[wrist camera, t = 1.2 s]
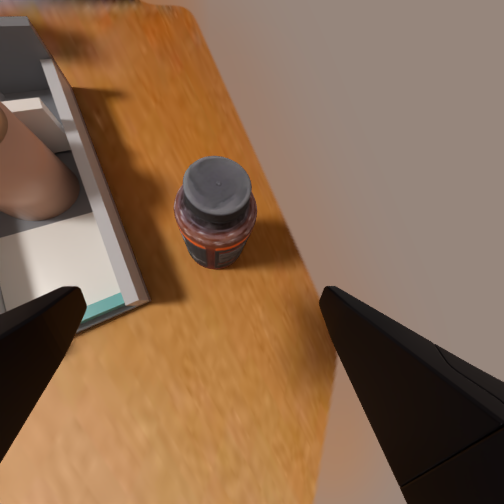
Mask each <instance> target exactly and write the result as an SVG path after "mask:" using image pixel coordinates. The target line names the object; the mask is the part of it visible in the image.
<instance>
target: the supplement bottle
mask: <svg viewBox="0 0 504 504" xmlns="http://www.w3.org/2000/svg"><path fill="white" fill-rule="evenodd" d="M251 188H252V187H251V181H250V178H249V176H248V174H247V173H246V171H245V170H244V169H243V168H242V167H241V166H240V165H239V164H238V163H236V162H234V161H233V160H230V159H228V158H224V157H220V156H208V157H204V158H201V159H199V160H197V161H196V162H194V163H193V164H191V165H190V166H189V168H188V169H187V170H186V172H185V174H184V178H183V185H182V187H181V188H180V189H179V191H178V193H177V195H176V198H175V203H174V213H175V218H176V221H177V224H178V227H179V229H180V232H181V234H182V237H183V239H184V241H185V244H186V246H187V249H188V251H189V253H190V255H191V257H192V258H193V259H194V260H195V261H196V262H197V263H198V264H199V265H201V266H203V267H206V268H209V269H222V268H225V267H227V266H229V265H231V264H232V263H233V262H235V261H236V259H237V258H238V257H239V255H240V254H241V251H242V249H243V247H244V245H245V243H246V242H247V239H248V237H249V236H250V234H251V232H252V229H253V227H254V224H255V221H256V217H257V206H256V201H255V198H254V196H253V194H252V192H251Z"/></svg>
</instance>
